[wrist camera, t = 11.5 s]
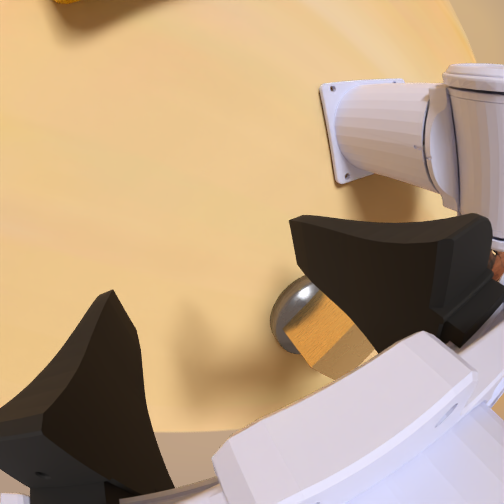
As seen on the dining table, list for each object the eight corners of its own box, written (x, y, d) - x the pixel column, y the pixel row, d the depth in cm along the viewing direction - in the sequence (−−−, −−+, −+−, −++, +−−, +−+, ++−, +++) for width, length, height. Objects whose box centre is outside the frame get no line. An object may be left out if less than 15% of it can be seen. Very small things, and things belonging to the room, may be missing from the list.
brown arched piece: (488, 228, 38) (513, 268, 33) (449, 261, 43) (472, 301, 38) (485, 210, 30) (518, 260, 25) (437, 253, 35) (466, 303, 30)
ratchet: (431, 213, 29) (464, 228, 25) (427, 271, 33) (455, 288, 28) (261, 294, 24) (287, 328, 20) (278, 356, 28) (300, 389, 24)
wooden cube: (323, 285, 24) (359, 317, 20) (348, 310, 27) (381, 341, 22) (282, 328, 24) (311, 367, 20) (312, 348, 27) (340, 383, 23)
